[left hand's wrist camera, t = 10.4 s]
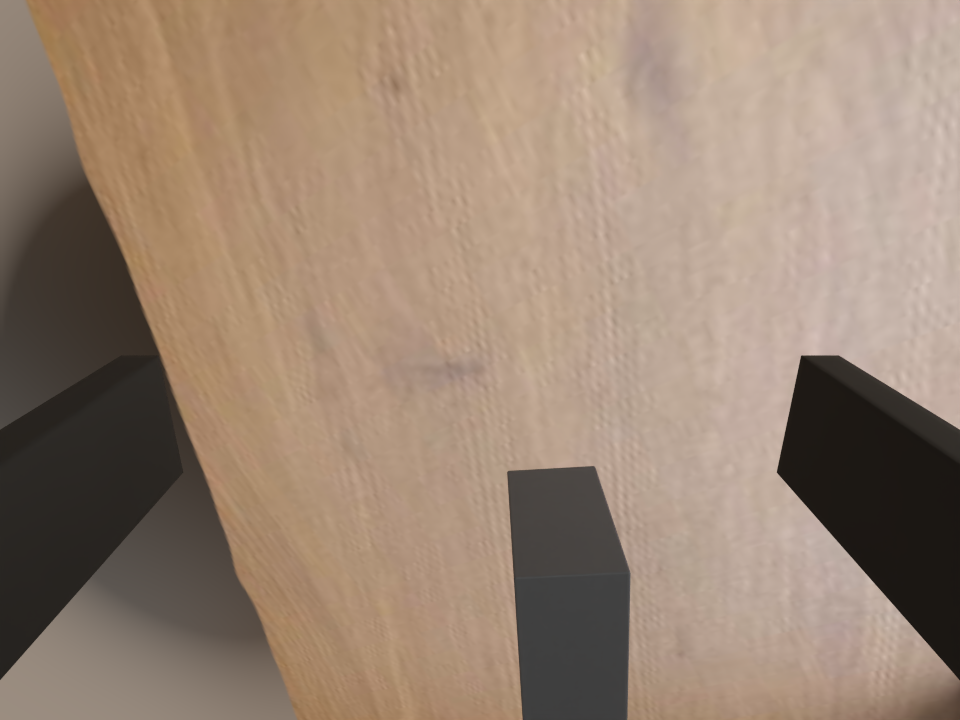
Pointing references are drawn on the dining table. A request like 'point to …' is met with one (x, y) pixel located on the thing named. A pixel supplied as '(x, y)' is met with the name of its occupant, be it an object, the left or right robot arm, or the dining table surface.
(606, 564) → the bar
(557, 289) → the dining table surface
